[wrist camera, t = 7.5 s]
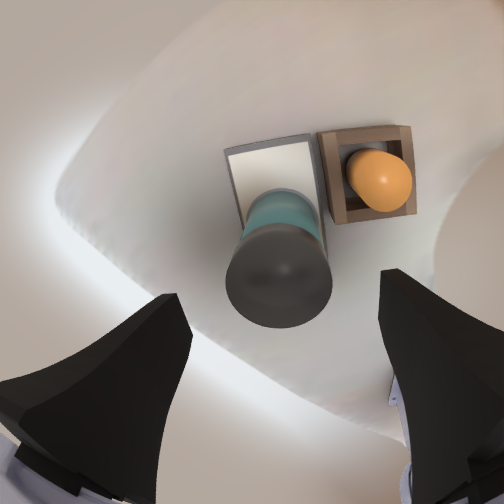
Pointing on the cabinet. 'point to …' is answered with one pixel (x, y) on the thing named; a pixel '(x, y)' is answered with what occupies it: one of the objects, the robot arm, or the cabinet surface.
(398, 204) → the button
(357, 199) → the button collar
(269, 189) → the drawing pad
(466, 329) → the robot arm
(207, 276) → the cabinet surface
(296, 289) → the cylinder
